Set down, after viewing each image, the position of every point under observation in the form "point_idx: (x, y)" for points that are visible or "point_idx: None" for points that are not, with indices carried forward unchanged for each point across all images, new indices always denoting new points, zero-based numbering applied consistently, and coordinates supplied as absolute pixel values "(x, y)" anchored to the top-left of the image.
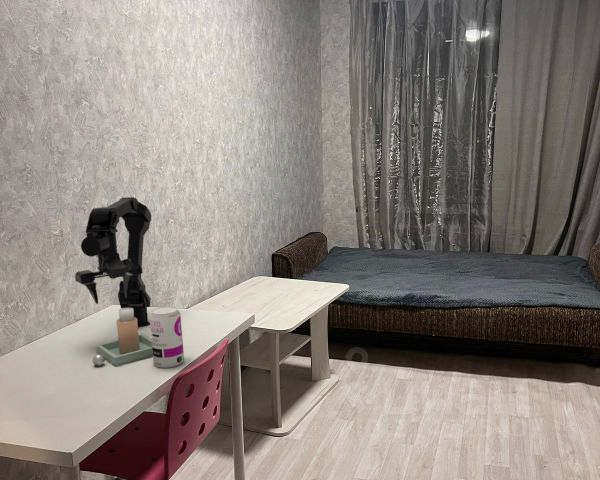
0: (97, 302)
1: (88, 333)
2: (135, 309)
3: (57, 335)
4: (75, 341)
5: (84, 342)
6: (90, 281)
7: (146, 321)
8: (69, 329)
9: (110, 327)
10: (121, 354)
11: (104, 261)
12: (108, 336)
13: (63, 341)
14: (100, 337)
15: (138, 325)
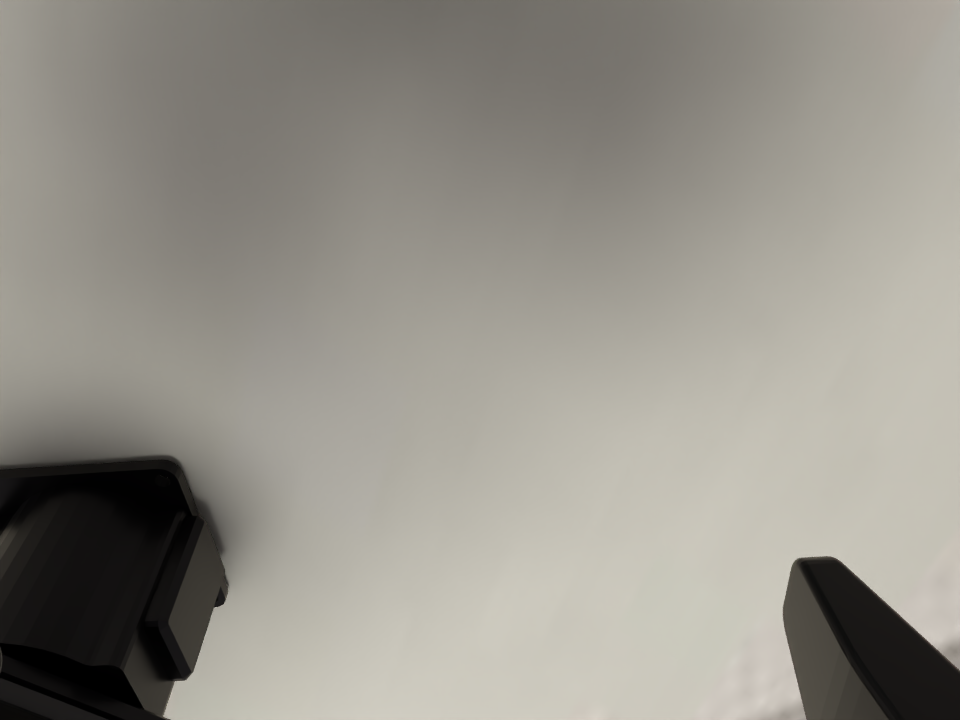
0: (833, 581)
1: (578, 563)
2: (37, 640)
3: None
4: (766, 441)
5: (716, 365)
6: None
7: (3, 523)
8: (660, 706)
9: (362, 594)
10: None
11: None
12: (449, 391)
13: (843, 500)
14: (528, 409)
15: (99, 479)
